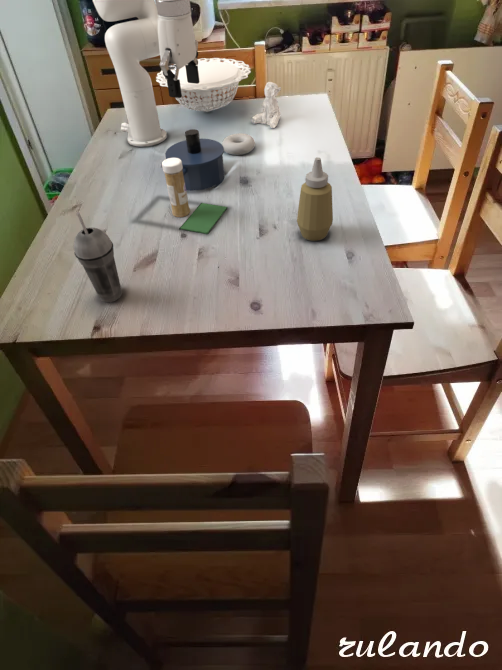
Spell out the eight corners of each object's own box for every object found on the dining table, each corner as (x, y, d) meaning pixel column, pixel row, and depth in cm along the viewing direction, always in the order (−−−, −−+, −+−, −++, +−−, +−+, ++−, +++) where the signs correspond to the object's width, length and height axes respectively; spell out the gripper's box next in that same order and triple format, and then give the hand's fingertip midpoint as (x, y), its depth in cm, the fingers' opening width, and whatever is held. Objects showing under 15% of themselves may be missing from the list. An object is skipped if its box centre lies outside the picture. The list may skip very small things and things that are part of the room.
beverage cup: (130, 282, 98) (103, 197, 83) (125, 305, 93) (95, 218, 78) (96, 284, 98) (64, 199, 84) (89, 308, 93) (53, 221, 78)
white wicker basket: (263, 97, 169) (262, 58, 159) (238, 133, 148) (235, 90, 139) (182, 94, 176) (176, 56, 167) (147, 128, 155) (139, 87, 146)
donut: (221, 158, 137) (255, 156, 136) (220, 146, 134) (254, 144, 133) (223, 143, 143) (255, 141, 143) (222, 132, 141) (254, 130, 140)
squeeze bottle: (290, 229, 108) (291, 154, 95) (321, 221, 110) (326, 146, 97) (305, 248, 103) (308, 171, 90) (338, 238, 104) (345, 162, 92)
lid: (155, 165, 120) (150, 141, 116) (182, 140, 130) (178, 117, 126) (209, 172, 116) (206, 148, 112) (233, 145, 126) (231, 122, 121)
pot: (157, 193, 124) (152, 166, 119) (190, 160, 137) (187, 134, 131) (206, 200, 120) (203, 173, 114) (236, 165, 132) (234, 140, 127)
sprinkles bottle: (191, 216, 114) (182, 163, 104) (173, 219, 114) (162, 167, 104) (189, 206, 117) (180, 155, 108) (171, 210, 117) (160, 158, 107)
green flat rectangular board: (134, 221, 115) (134, 219, 114) (158, 197, 122) (158, 196, 122) (207, 234, 109) (207, 232, 109) (227, 208, 116) (227, 206, 116)
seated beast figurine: (250, 123, 153) (248, 84, 144) (265, 114, 157) (264, 76, 149) (273, 129, 149) (272, 89, 140) (288, 119, 153) (288, 80, 144)
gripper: (176, -3, 109) (187, 76, 121) (138, 17, 98) (154, 101, 111) (205, -2, 107) (212, 79, 119) (170, 18, 96) (182, 104, 109)
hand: (184, 89), depth 115 cm, fingers open, 9 cm apart
